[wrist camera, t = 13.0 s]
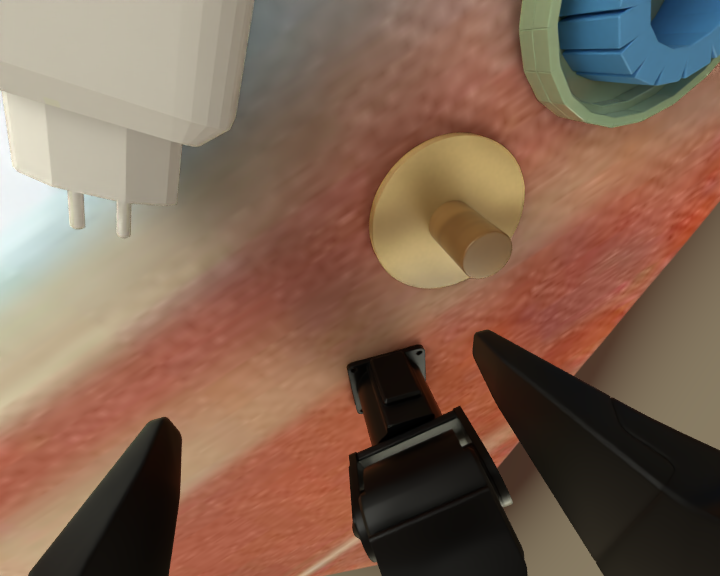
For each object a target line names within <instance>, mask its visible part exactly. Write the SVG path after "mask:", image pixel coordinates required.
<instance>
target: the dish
mask: <svg viewBox="0 0 720 576" xmlns="http://www.w3.org/2000/svg"><path fill="white" fill-rule="evenodd" d="M663 2H664V0H651V21H652V20H653V19H654V18H655V16H656V15H657V13H658V11H659V9H660V7H661V6H662V4H663ZM561 3H562V0H522V6H521V14H520V23H519V30H520V31H519V38H520V46H521V54H522V62H523V70H524V73H525V75H526V77H527V79H528V81H529V83H530V86H531V88H532V90H533V92H534V94H535V96H536V98H537V99H538V101H539V102H541V103H542V104H543V105H544V106H545V107H547V108H548V109H549V110H550V111H551V112H553V113H554V114H555V115H556V116H559V117H561V118H566V119H571V120H575V121H580V122H584V123H589V124H594V125H599V126H604V127H608V128H613V127H618V126H623V125H628V124H632V123H637V122H641V121H644V120H645V119H647V118H649V117H651V116H653V115H655V114H657V113H658V112H660V111H662V110H664V109H666V108H668V107H669V106H671V105H673V104H674V103H676V102H677V101H678V100H679V99H681V98H682V97H683V96H684V95H685V94H687V93H688V92H689V91H690V90H691V89H692V88H694V87H695V86H696V85H697V84H698V83H700V82H701V81H702V80H703V79H704V78H705V77H706V76H707V75H709V73H710V72H711V71H712V70H713V69H714V68H715V66H716V65H717V64H718V63H719V62H720V55H719V56H718V57H717V58H711V62H710V63H709V64H708V65H706V66H705V67H703V68H701V69H700V70H698V71H697V72H695V73H693V74H692V75H690V76H689V77H687V78H681V79H680V81H678V82H673V83H668V84H663V85H658V86H655V85H640V84H628V83H616V82H605V81H593V80H590V79H587V78H585V77H582V76H579V75H577V74H576V72H577V71H572V69H571V68H570V66H569V64H568V63H567V61H566V60H565V58H564V57H563V55H562V54H563V52H564V51H565V50H566V49H560V43H559V35H558V22H559V21H561V20H562V19H564V18H565V17H567V16H561V17H559V14H560V9H561Z"/></svg>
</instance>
